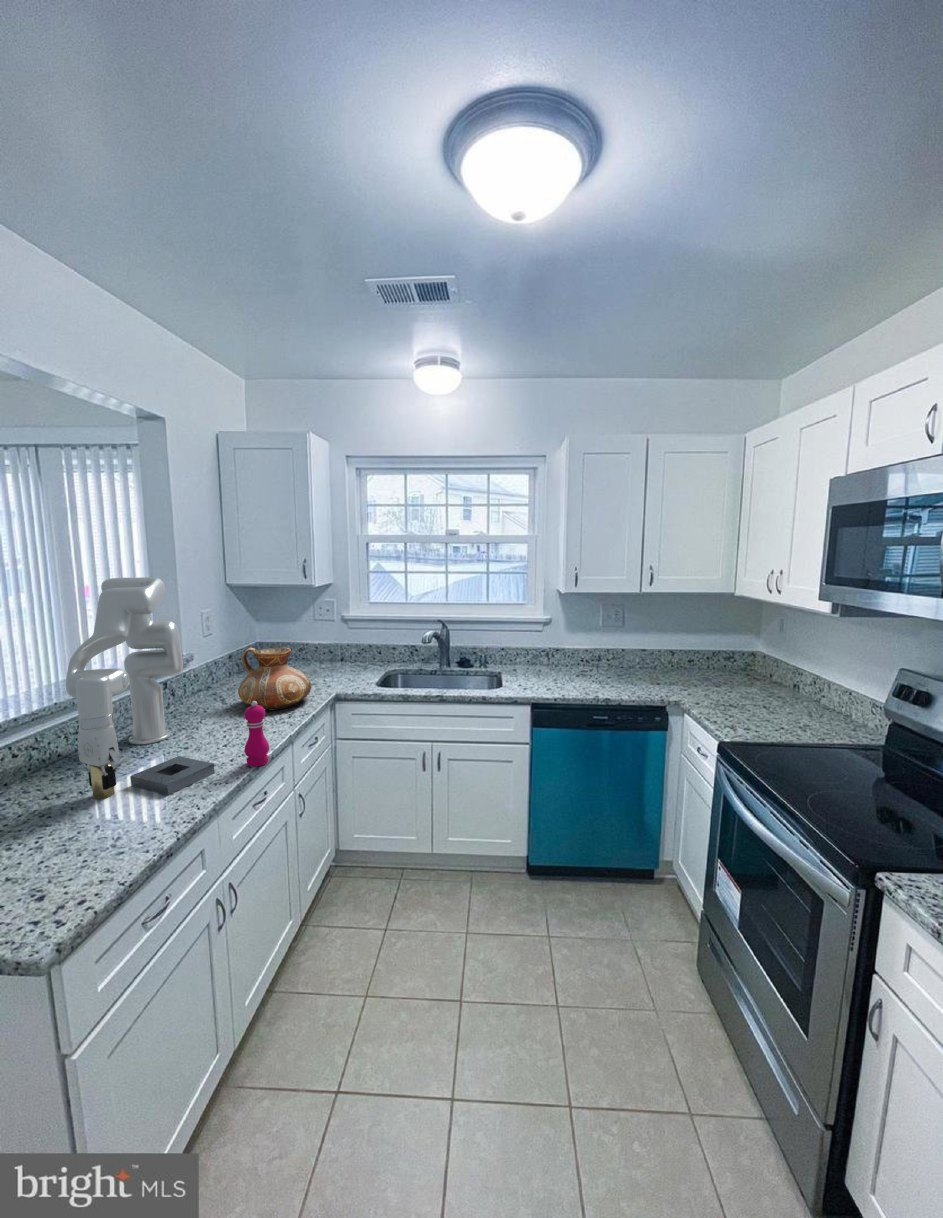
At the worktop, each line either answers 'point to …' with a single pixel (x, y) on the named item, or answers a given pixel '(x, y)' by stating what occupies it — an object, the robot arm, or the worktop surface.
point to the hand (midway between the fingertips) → (102, 785)
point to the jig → (183, 775)
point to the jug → (273, 680)
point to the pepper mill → (256, 736)
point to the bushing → (99, 783)
